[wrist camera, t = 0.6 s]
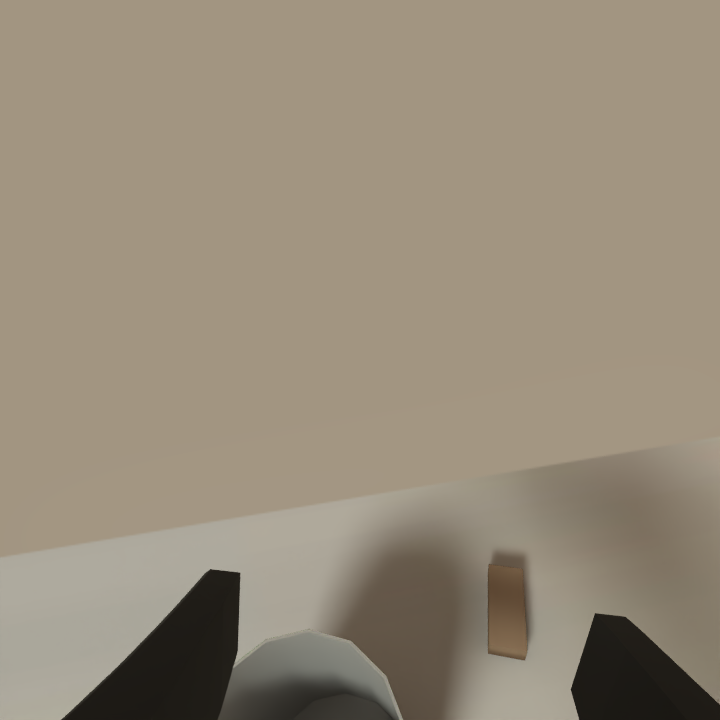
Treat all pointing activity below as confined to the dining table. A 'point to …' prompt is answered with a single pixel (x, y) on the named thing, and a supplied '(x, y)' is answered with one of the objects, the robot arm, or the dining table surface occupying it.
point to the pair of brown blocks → (506, 612)
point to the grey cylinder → (308, 682)
